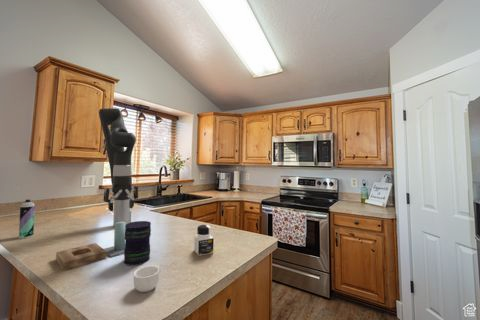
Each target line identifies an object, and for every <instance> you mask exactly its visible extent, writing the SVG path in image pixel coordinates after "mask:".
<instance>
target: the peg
mask: <svg viewBox="0 0 480 320" xmlns="http://www.w3.org/2000/svg"><path fill="white" fill-rule="evenodd" d="M125 224H126V222H116V223H115V228H114V235H113V237H114V239H113V240H114V243H113V246H114V250H115V251H120V250H123V249H125V241H126V240H125Z"/></svg>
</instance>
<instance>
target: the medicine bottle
mask: <svg viewBox="0 0 480 320" xmlns="http://www.w3.org/2000/svg"><path fill="white" fill-rule="evenodd" d="M211 228H212V227H211V225H209V224H200V225H198V226H197V231H196V232H197V234H195V235H193V236H194V238H193V239H194V240H193V241H194V244H193V245H194V246H193V247H194V248H193V250H194V252H195V253H196V255H197V256H199V257H200V256H205V255H210V254H214V237H213V236H212V235H211V233H212V232H211Z"/></svg>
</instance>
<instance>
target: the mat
mask: <svg viewBox="0 0 480 320" xmlns="http://www.w3.org/2000/svg"><path fill="white" fill-rule="evenodd" d="M103 249H104V250H105V251H106V256H108V257H109V258H114V257H118V256H121V255H124V249H123V250H120V251H115V250H114V245H112V246H110V247H106V248H103Z"/></svg>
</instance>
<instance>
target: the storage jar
mask: <svg viewBox="0 0 480 320" xmlns="http://www.w3.org/2000/svg"><path fill="white" fill-rule="evenodd" d="M151 225H152V223H151V221H146V220H137V221H133V222H132V221H131V223H128V224H126V225H125V249H124V254H123V258H124V261H123V263H124V265H126V266H139V265H143V264H145V263H147V262H148V261H149V260H150V259H151V256H150V255H151V244H150V242H151V241H150V240H151V239H150V238H151V235H152V233H151V231H152V227H151Z"/></svg>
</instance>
